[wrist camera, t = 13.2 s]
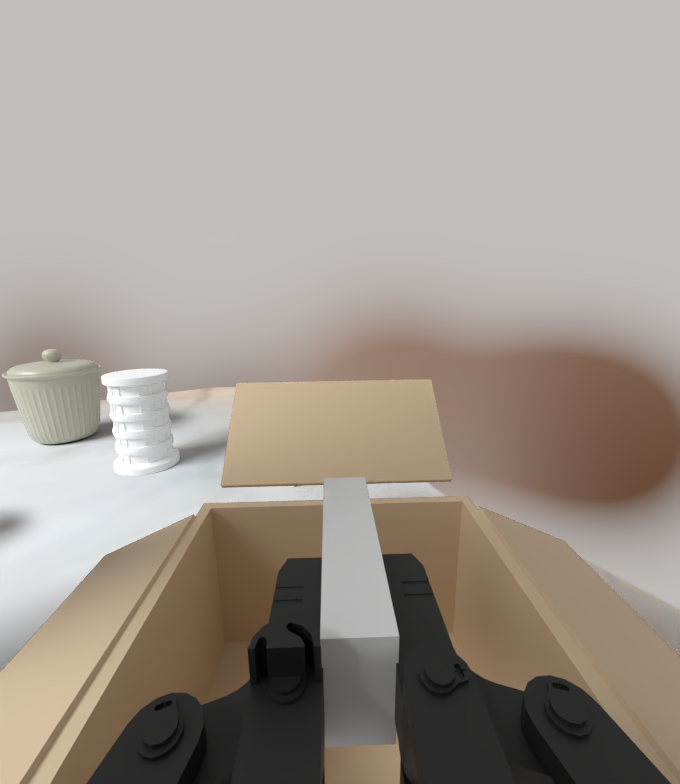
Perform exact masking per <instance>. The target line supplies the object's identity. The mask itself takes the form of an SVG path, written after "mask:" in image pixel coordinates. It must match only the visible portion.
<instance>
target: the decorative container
mask: <svg viewBox="0 0 680 784" xmlns="http://www.w3.org/2000/svg"><path fill="white" fill-rule="evenodd" d="M167 378H168V372H167V370H164V369H135V370H125V371H118V372H113V373H108V374H105V375H102V376H101V379H102V384H103V385H105V386H107V389H108V394H107V400H108V403H110V407H111V410H110V418H111V420H112V421H113V429H112V433H113V435H114V437H115V438H116V443H115V450H116V451H117V453H118V456H119V457H118V458H117V459H116V460H115V461H114V463H113V465H114V471H115V472H116V473H117V474H119V475H122V476H142V475H148V474H153V473H157V472H160V471H163V470H166V469H168V468H170V467H172V466H173V465H175V464H177V462H178V461H179V460H180V453H179V450H178V449H176V448H173V440H174V437H173V435H172V433H171V427H172V422H171V419H170V418H169V411H170V406H169V404H168V403H167V396H168V390H167V388H166V387H165V380H166V379H167Z"/></svg>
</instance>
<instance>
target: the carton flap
mask: <svg viewBox="0 0 680 784" xmlns="http://www.w3.org/2000/svg"><path fill="white" fill-rule="evenodd" d="M345 477H365V479H366V484H375V483H413V482H447V481H449V482H450V481H451V480H452V478H451V473H450V469H449V464H448V459H447V455H446V449H445V444H444V440H443V435H442V430H441V425H440V420H439V416H438V411H437V406H436V401H435V396H434V392H433V387H432V382H431V379H426V380H371V381H320V382H271V383H270V382H269V383H268V382H267V383H236V389H235V395H234V402H233V409H232V415H231V422H230V428H229V435H228V441H227V448H226V454H225V461H224V467H223V474H222V481H221V487H222V488H225V487H262V486H300V485H324V478H345Z"/></svg>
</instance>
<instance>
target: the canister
mask: <svg viewBox="0 0 680 784" xmlns="http://www.w3.org/2000/svg"><path fill="white" fill-rule="evenodd" d="M42 357H43V359H44V360H45V361H41V362H34V363H28V364H22V365H18V366H15V367H12V368H10V369H9V370H8V371H7V372H5V373H3V374H2V377H3V378H6V379H7V381H8V384H9V386H10V389H11V392H12V395H13V397H14V400H15V402H16V405H17V408H18V410H19V413H20V416H21V418H22V420H23V423H24V425H25V428H26V430H27V432H28V434H29V436H30V437H31V438H32V439H33V440H34V441H36V442H37V443H41V444H60V443H67V442H72V441H76V440H79V439H83V438H86V437H88V436H90V435H92V434H93V433H95V432H96V431H97V430H98V428H99V425H100V388H99V369H100V368H101V365H99V364H95V363H94V362H93V361H89V360H77V359H73V360H72V359H71V360H70V359H69V360H60V359H61V353H60V351H58V350H56V349H49V350H45V351H44V352H43V353H42Z"/></svg>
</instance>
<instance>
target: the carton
mask: <svg viewBox="0 0 680 784" xmlns="http://www.w3.org/2000/svg"><path fill="white" fill-rule="evenodd" d="M370 502H371V507H372V512H373V516H374V521H375V526H376V530H377V535H378V540H379V544H380V549H381V553H382V554H405V553H412V554H413V555H414V556H415V557H416V558H417V559H418V560H419V562H420V563H421V564H422V565H423V566H424V568H425V571H426V574H427V577H428V579H429V584H430V585H431V588H432V590H433V593H434V597H435V598H436V601H437V604H438V607H439V609H440V612H441V615H442V618H443V620H444V623H445V626H446V628H447V631H448V634H449V637H450V639H451V642H452V645H453V647H454V649H455V651H456V653H457V655H458V656H459V657H460V658H462V659H463V660H464V661H465V662H466V663H467V665H468V666H469V668H470V669H471V670H472V671H473V672H474V673H476V674H478V675H479V676H481V677H483V678H484V679H487V680H489V681H492V682H494V683H497V684H501V685H504V686H508V687H511V688H515V689H519V690H522V691H525V688H526V685H527V683H528V682H529V681H530V680H532V679H533V678H535V677H536V676H546V675H551V676H555V677H559V678H562V679H566V680H567V681H569V682H571V683H573V684H575V685H576V686H578V687H580V688H582V689H583V690H584V691H585V692H586V693H587V694H589V695H590V696H591V697H592V698H593V699H594V700H595V701H596V702H597V703H598V704H599V705H600V706H601V707H602V708H603V709H604V710H605V711H606V712H607V714H608V715H609V716H610V717H611V718H612V719H613V720H614V721H615V722H616V723H617V725H618V726H619V727H620V728H621V729H622V730H623V731H624V732H625V733H626V734H627V735H628V737H629V738H630V739H631V740H632V741H633V742H634V743H635V744H636V745H637V746H638V748H639V749H640V750H641V751H642V752H643V753H644V754H645V755H646V756H647V757H648V759H649V760H650V761H651V762H652V763H653V764H654V765H655V766H656V767H657V768H658V770H659V771H660V772H661V773H662V774H663V775H664V776H665V777H666V778H667V779H668V781H669V782H670V783H671V784H680V656H679V655H678V654H677V653H676V652H675V651H674V650H673V649H672V648H671V647H670V646H669V645H668V644H667V643H666V642H665V641H664V640H663V639H662V638H661V637H660V636H659V635H658V634H657V633H656V632H655V631H654V630H653V629H652V628H651V627H650V626H649V625H648V624H647V623H646V622H645V621H644V620H643V619H642V618H641V617H640V616H639V615H638V614H637V613H636V612H635V611H634V610H633V609H632V608H631V607H630V606H629V605H628V604H627V603H626V602H625V601H624V600H623V599H622V598H621V597H620V596H619V595H618V594H617V593H616V592H615V591H614V590H613V589H612V588H611V587H610V586H609V585H608V584H607V583H606V582H605V581H604V580H603V579H602V578H601V577H600V576H599V575H598V574H597V573H596V572H595V571H594V570H593V569H592V568H591V567H590V566H589V565H588V564H587V563H586V562H585V561H584V560H583V559H582V558H581V557H580V556H579V555H578V554H577V553H576V552H575V551H574V550H573V549H572V548H570V547H569V545H568V544H567V543H566V542H564V541H563V540H560V539H558V538H555V537H553V536H550V535H548V534H545V533H543V532H541V531H538V530H536V529H533V528H531V527H529V526H526V525H524V524H521V523H519V522H516V521H514V520H511V519H509V518H507V517H504V516H502V515H499V514H497V513H494V512H492V511H489V510H487V509H485V508H482V507H480V506H479V507H478V509H477V507H476V506H475V505H474V503H473V502H472V501H471V499H470V498H469V497H468V496H452V497H451V496H449V497H413V498H377V499H370ZM322 538H323V500H305V501H269V502H232V503H204V504H203V506H202V507H201V509H200V511H199V512H198V514H197V515H196V517H195V516H194V514H193V515H191V516H189V517H187V518H185V519H183V520H180V521H178V522H176V523H174V524H172V525H170V526H168V527H165V528H163V529H161V530H159V531H157V532H155V533H152V534H150V535H148V536H146V537H144V538H142V539H140V540H137V541H135V542H133V543H131V544H129V545H127V546H124V547H122V548H120V549H118V550H116V551H114V552H112V553H109V554H107V555H105V556H104V557H103V558H102V559H101V561H100V562H99V563H98V564H97V565H96V566H95V567H94V568H93V570H92V571H91V572H90V573H89V574H88V575H87V576H86V577H85V578H84V580H83V581H82V582H81V583H80V584H79V585H78V586H77V587H76V588H75V590H74V591H73V592H72V593H71V594H70V595H69V596H68V597H67V599H66V600H65V601H64V602H63V603H62V604H61V605H60V606H59V607H58V609H57V610H56V611H55V612H54V613H53V614H52V615H51V616H50V617H49V619H48V620H47V621H46V622H45V623H44V624H43V625H42V626H41V627H40V629H39V630H38V631H37V632H36V633H35V634H34V635H33V636H32V638H31V639H30V640H29V641H28V642H27V643H26V644H25V645H24V646H23V648H22V649H21V650H20V651H19V652H18V653H17V654H16V655H15V656H14V658H13V659H12V660H11V661H10V662H9V663H8V664H7V665H6V667H5V668H4V669H3V670H2V671H1V672H0V784H86V783H87V782H88V781H89V779H90V778H91V776H92V775H93V773H94V772H95V770H96V769H97V768H98V766H99V765H100V763H101V762H102V760H103V759H104V757H105V756H106V754H107V753H108V752H109V750H110V749H111V747H112V746H113V744H114V743H115V741H116V740H117V739H118V737H119V736H120V734H121V733H122V731H123V730H124V728H125V727H126V726H127V724H128V723H129V722H130V721H131V720H132V719H133V717H134V716H135V715H136V714H137V713H138V712H139V711H140V709H142V708H143V707H145V706H146V705H147V704H149V703H150V702H152V701H153V700H155V699H156V698H159V697H161V696H164V695H167V694H170V693H188V694H189V695H191V696H193V697H195V698H197V699H198V701H199V703H200V705H203V704H206V703H209V702H211V701H214V700H216V699H219V698H222V697H224V696H227V695H229V694H231V693H233V692H235V691H237V690H238V689H239V688H240V687H242V686H243V685H244V684H246V683H247V682H248V680H249V679H250V673H249V662H248V650H247V649H248V647H249V644H250V642H251V640H252V638H253V636H254V635H255V634H256V633H257V632H258V631H259V630H260V629H261V628H262V627H263V626H264V625H266V624H268V623H269V618H270V613H271V608H272V604H273V597H274V592H275V586H276V581H277V576H278V571H279V570H280V569H281V567H282V566H283V565H284V563H285V562H286V560H287V559H288V558H317V557H322ZM400 762H401V757H400V750H399V744H398V738H397V732H396V744H388V745H367V746H345V747H325V754H324V768H325V784H400Z"/></svg>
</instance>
